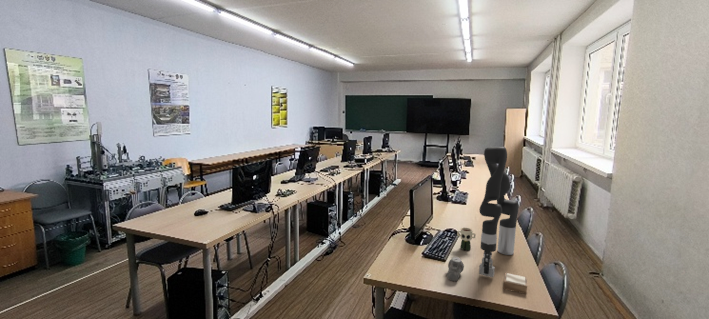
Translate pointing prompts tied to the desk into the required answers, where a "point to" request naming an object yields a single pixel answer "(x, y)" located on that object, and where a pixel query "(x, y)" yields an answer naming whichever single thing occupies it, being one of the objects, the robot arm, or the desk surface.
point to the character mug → (466, 238)
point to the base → (515, 283)
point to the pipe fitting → (455, 268)
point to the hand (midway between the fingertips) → (486, 271)
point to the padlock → (491, 269)
